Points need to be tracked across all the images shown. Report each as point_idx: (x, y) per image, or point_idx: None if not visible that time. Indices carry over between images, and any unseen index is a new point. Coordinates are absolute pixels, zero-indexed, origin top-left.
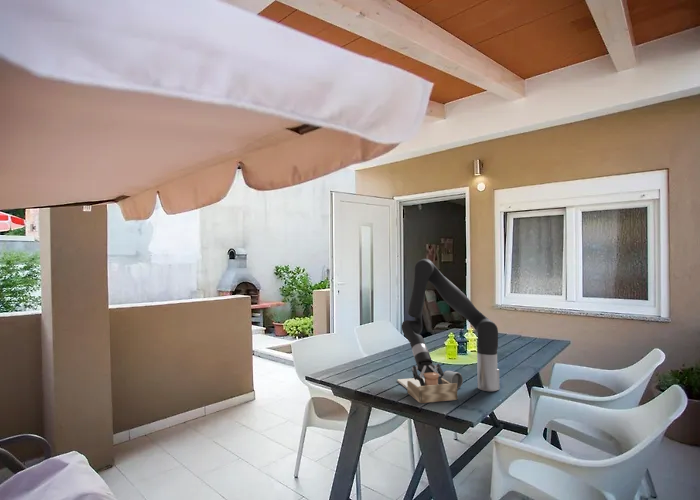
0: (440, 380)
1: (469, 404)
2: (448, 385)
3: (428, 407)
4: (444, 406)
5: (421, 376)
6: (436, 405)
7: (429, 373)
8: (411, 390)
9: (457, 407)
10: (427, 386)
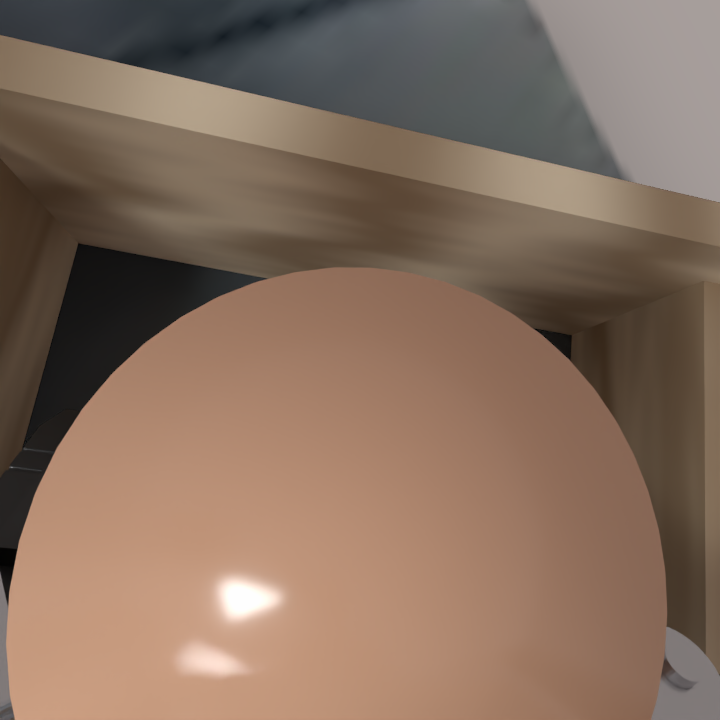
0: None
1: (41, 8)
2: (145, 87)
3: (572, 165)
4: (386, 105)
5: (662, 683)
6: None
7: (405, 666)
8: None
9: (262, 14)
10: (651, 188)
